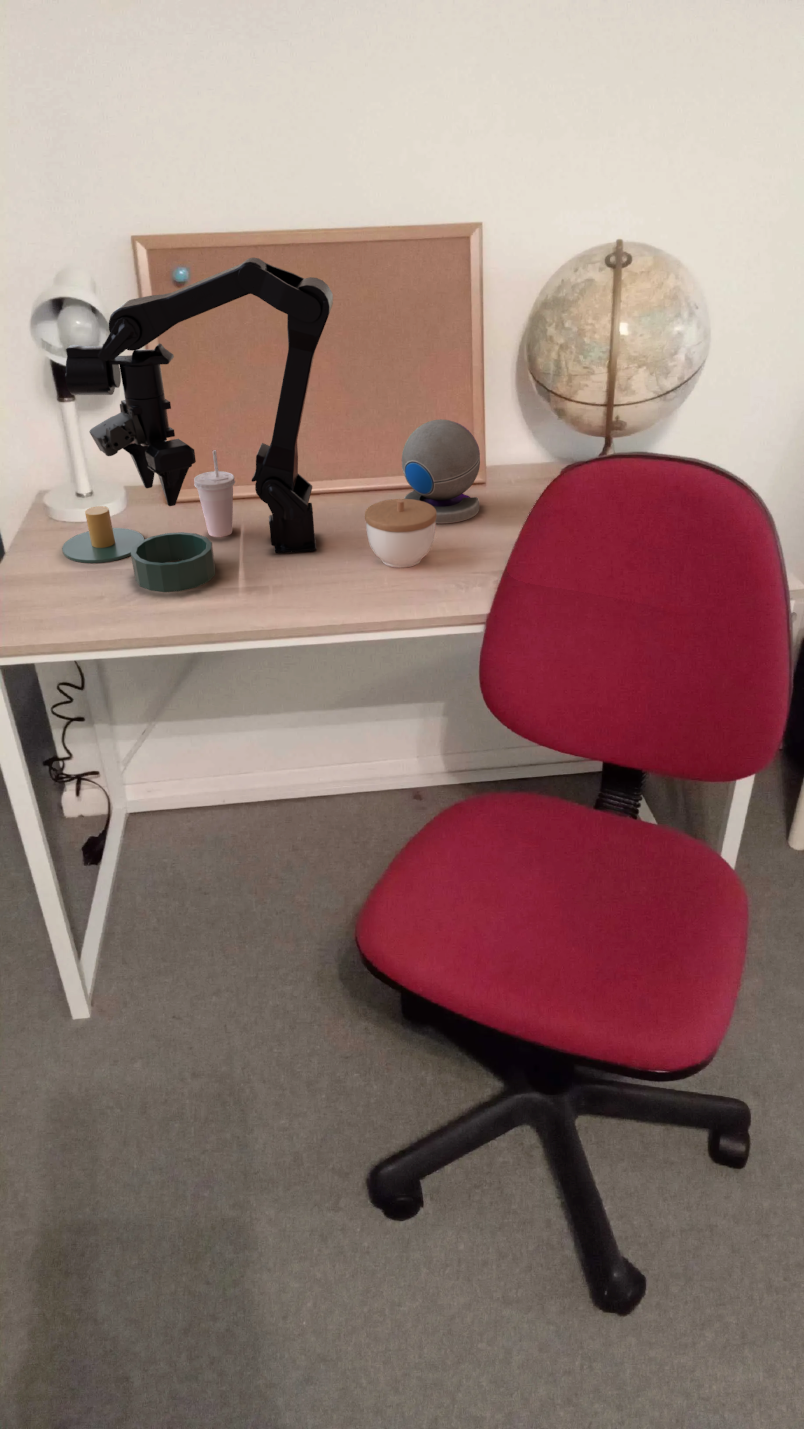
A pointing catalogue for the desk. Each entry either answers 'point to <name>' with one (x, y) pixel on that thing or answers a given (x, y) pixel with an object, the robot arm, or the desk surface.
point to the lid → (101, 539)
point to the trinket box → (400, 530)
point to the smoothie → (216, 499)
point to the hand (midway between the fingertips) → (159, 496)
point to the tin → (173, 574)
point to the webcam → (442, 469)
